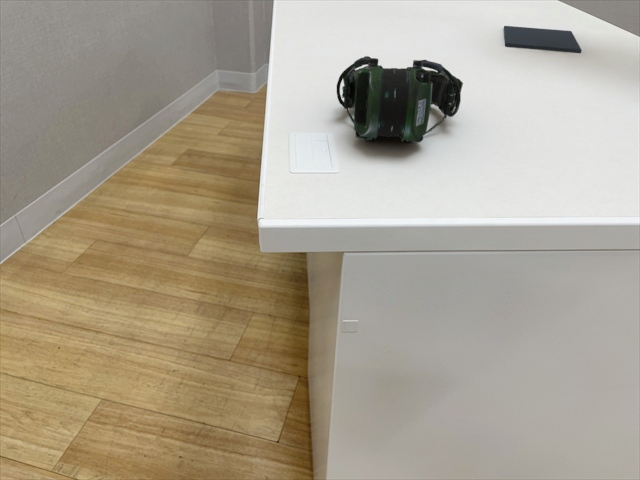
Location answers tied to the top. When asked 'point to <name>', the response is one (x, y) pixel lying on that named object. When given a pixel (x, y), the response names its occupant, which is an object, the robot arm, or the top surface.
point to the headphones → (397, 98)
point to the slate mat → (540, 39)
